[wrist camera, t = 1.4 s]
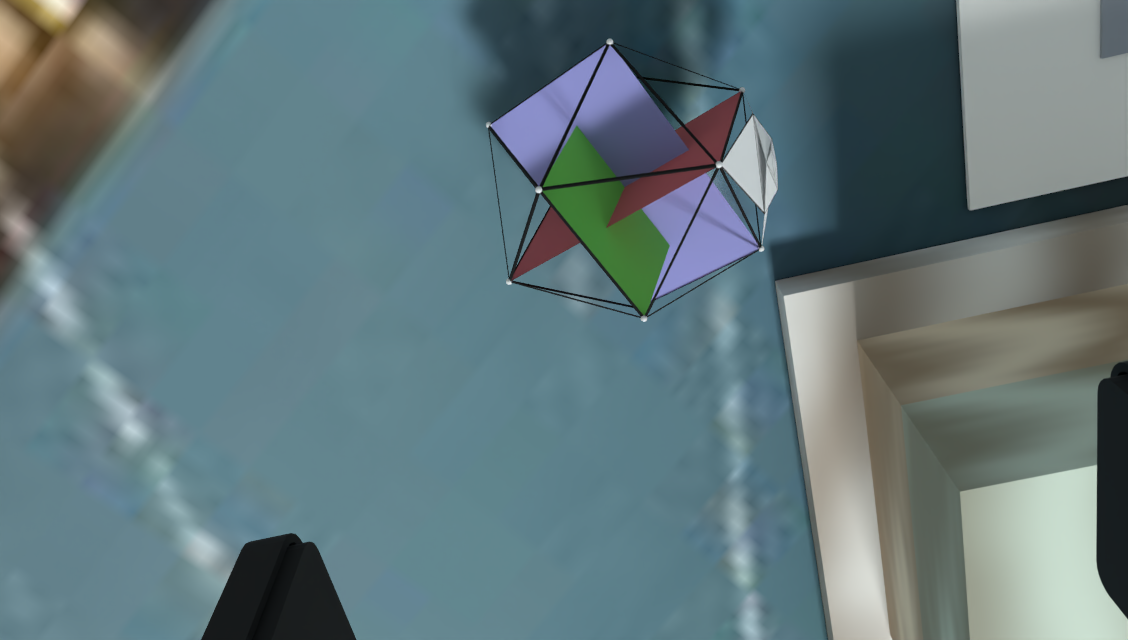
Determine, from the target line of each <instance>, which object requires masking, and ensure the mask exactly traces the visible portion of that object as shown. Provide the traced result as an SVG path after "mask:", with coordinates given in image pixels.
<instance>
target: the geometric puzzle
mask: <svg viewBox="0 0 1128 640" xmlns="http://www.w3.org/2000/svg"><path fill="white" fill-rule="evenodd" d="M614 44H616V43H614ZM617 45H619V44H617ZM619 46H621V45H619ZM622 47H624V46H622ZM625 48H627V47H625ZM628 49H630V48H628ZM630 50H632V49H630ZM633 51H635V50H633ZM636 52H638V51H636ZM639 53H640V52H639ZM641 54H643V53H641ZM644 55H646V54H644ZM647 56H649V55H647ZM649 57H651V56H649ZM652 58H654V57H652ZM655 59H657V58H655ZM658 60H660V59H658ZM624 61H625V62H624ZM660 61H662V60H660ZM663 62H665V61H663ZM666 63H668V62H666ZM626 64H627V65H628V66H629V67H630V68H631V69H632V70H633V72H634V73H635V74H636V75H637V76H635V75H634V74H633V73H632V71H631V70H630V69H629V67H628V66H627V65H626ZM669 64H670V63H669ZM671 65H673V64H671ZM674 66H676V65H674ZM677 67H679V66H677ZM679 68H681V67H679ZM682 69H684V68H682ZM685 70H687V69H685ZM688 71H690V70H688ZM690 72H692V71H690ZM693 73H695V72H693ZM696 74H698V73H696ZM699 75H700V74H699ZM701 76H703V75H701ZM704 77H706V76H704ZM637 78H638V79H641V81H642V82H643V83H644V84H645V85H646V86H647V87H648V88H649V90H650V91H651V92H652V93H653V94H654V95H655V96H656V97H657V99H658V100H659V101H660V102H661V103H662V104H663V105H664V106H665V108H666V109H667V110H668V111H669V112H670V113H671V114H672V115H673V117H674V118H675V119H676V120H677V121H678V122H679V123H680V124H681V126H682V127H680V128H678V129H677V130H674V129H673V127H672V126H671V125H670V123H669V122H668V120H667V119H666V118H665V116H664V115H663V114H662V112H661V111H660V110H659V108H658V107H657V105H656V104H655V103H654V101H653V100H652V99H651V97H650V96H649V95H648V93H647V92H646V90H645V89H644V88H643V86H642V85H641V84H640V82H639V81H638V80H637ZM707 78H709V77H707ZM644 79H646V80H654V81H662V82H670V83H678V84H686V85H694V86H702V87H710V88H718V89H726V90H734V91H739V93H737V94H735V95H734V96H732V97H730V98H729V99H727V100H725V101H724V102H722V103H720V104H719V105H717V106H715V107H714V108H712V109H710V110H709V111H707V112H705V113H703V114H702V115H700V116H698V117H697V118H695V119H693V120H692V121H690V122H688V123H687V124H685V125H684V123H683V122H682V121H681V120H680V119H679V118H678V117H677V116H676V114H675V113H674V112H673V111H672V110H671V109H670V108H669V107H668V105H667V104H666V103H665V102H664V101H663V100H662V99H661V98H660V96H659V95H658V94H657V93H656V92H655V91H654V90H653V89H652V87H651V86H650V85H649V84H648V83H647V82H646V81H645V80H644ZM710 79H711V78H710ZM712 80H714V79H712ZM715 81H717V80H715ZM718 82H720V81H718ZM720 83H722V82H720ZM723 84H725V83H723ZM726 85H728V84H726ZM729 86H730V85H729ZM731 87H733V86H731ZM734 88H736V87H734ZM734 88H726V87H718V86H710V85H702V84H694V83H686V82H678V81H670V80H662V79H654V78H646V77H642V76H641V75H640V74H639V73H638V72H637V71H636V70H635V68H634V67H633V66H632V65H631V64H630V63H629V62H628V61H627V59H626V58H625V57H624V56H623V55H622V54H621V53H620V52H619V50H618V49H617V48H616V47H615V46H614V45H613V40H612V39H608V40H607V43H606V44H604V45H603V46H602V47H600V48H599V49H597V50H596V51H594V52H593V53H591V54H590V55H589V56H587V57H586V58H584V59H583V60H581V61H580V62H579V63H577V64H576V65H574V66H573V67H571V68H570V69H568V70H567V71H566V72H564V73H563V74H561V75H560V76H558V77H557V78H555V79H554V80H553V81H551V82H550V83H548V84H547V85H545V86H544V87H543V88H541V89H540V90H538V91H537V92H535V93H534V94H532V95H531V96H530V97H528V98H527V99H525V100H524V101H522V102H521V103H519V104H518V105H517V106H515V107H514V108H512V109H511V110H509V111H508V112H507V113H505V114H504V115H502V116H501V117H499V118H498V119H496V120H495V121H494V122H492V123H491V122H487V123H486V126H487V127H488V130H490V131H491V132H492V134H493V135H494V136H495V137H496V139H497V140H498V141H499V143H500V144H501V145H502V146H503V148H504V149H505V150H506V151H507V153H508V154H509V155H510V156H511V158H512V159H513V160H514V162H515V163H516V164H517V165H518V167H519V168H520V169H521V170H522V172H523V173H524V174H525V176H526V177H527V178H528V179H529V181H530V182H531V183H532V184H533V186H534V187H535V188H536V189H535V191H536V196H535V199H534V202H533V205H532V208H531V211H530V214H529V217H528V221H527V224H526V227H525V230H524V233H523V236H522V239H521V243H520V246H519V249H518V252H517V255H516V258H515V261H514V264H513V268H512V271H511V274H510V277H509V272H508V277H509V279H507V280H506V283H507V284H511V283H515V284H519V285H522V286H526V287H530V286H531V287H530V288H533V289H537V290H540V291H544V292H548V291H545V290H550V291H555V292H560V293H564V294H569V295H574V296H579V297H584V298H589V299H593V300H598V301H603V302H608V303H613V304H617V305H622V306H627V307H632V308H634V309H635V310H636V311H637V312H638V314H639V315H640V316H641V317H640V316H636V315H633V314H629V313H625V312H622V311H618V310H614V309H611V308H607V307H603V306H600V305H596V304H592V303H589V302H585V301H581V300H578V299H574V298H570V297H567V296H563V295H559V294H556V293H552V292H548V293H551V294H555V295H559V296H562V297H566V298H570V299H573V300H577V301H581V302H584V303H588V304H591V305H595V306H599V307H602V308H606V309H610V310H613V311H617V312H621V313H624V314H628V315H632V316H635V317H639V318H641V320H642V321H643V322H645V321H647V317H649V316H650V315H652V314H654V313H655V312H657V311H659V310H660V309H662V308H664V307H665V306H667V305H669V304H670V303H672V302H674V301H675V300H677V299H679V298H680V297H682V296H684V295H685V294H687V293H689V292H690V291H692V290H694V289H695V288H697V287H699V286H700V285H702V284H704V283H705V282H707V281H709V280H710V279H712V278H714V277H715V276H717V275H719V274H720V273H722V272H724V271H725V270H727V269H729V268H730V267H732V266H734V265H735V264H737V263H739V262H740V261H742V260H744V259H745V258H747V257H748V256H750V255H752V254H753V253H755V252H757V251H758V250H759V251H763V250H764V246H762V245H761V241H760V243H759V241H758V239H757V237H756V235H755V233H754V231H753V229H752V227H751V225H750V223H749V221H748V219H747V217H746V215H745V213H744V211H743V209H742V207H741V205H740V203H739V201H738V199H737V197H736V195H735V192H734V190H733V188H732V186H731V184H730V182H729V180H728V178H727V176H726V174H725V172H724V170H725V171H726V173H727V174H728V175H729V176H730V177H731V178H732V179H733V180H734V181H735V182H736V184H737V185H738V186H739V187H740V188H741V189H742V190H743V191H744V192H745V193H746V195H747V196H748V197H749V198H750V199H751V200H752V201H753V202H754V203H755V206H757V207H758V208H759V209H760V210H761V211H762V212H763V213H764V214H765V215H764V226H763V236H764V230H765V224H766V218H767V211H768V207H769V205H770V203H771V201H772V200H773V198H774V196H775V194H776V192H777V190H778V184H777V162H776V157H775V152H774V147H773V142H772V138H771V137H770V136H769V134H768V133H767V132H766V130H765V129H764V128H763V126H762V125H761V124H760V122H759V121H758V120H757V118H756V117H755V115H754V114H753V113H752V115H751V117H750V118H749V120H748V121H747V122H746V125H745V126H744V128H743V129H742V131H741V132H740V134H739V136H738V137H737V139H736V140H735V142H734V143H733V145H732V147H731V148H730V150H729V151H728V153H727V155H726V156H725V158H724V159H723V157H724V154H725V151H726V147H727V144H728V141H729V137H730V134H731V131H732V128H733V124H734V121H735V118H736V114H737V111H738V108H739V105H740V101H741V98H742V96H743V93H744V92H745V88H744V87H741V88H740V89H739V88H737V89H734ZM745 97H746V96H745ZM743 104H744V96H743ZM748 104H749V103H748ZM750 109H751V108H750ZM751 111H752V110H751ZM744 113H745V104H744ZM745 121H746V113H745ZM489 138H490V132H489ZM490 145H491V140H490ZM491 152H492V147H491ZM492 160H493V154H492ZM722 160H723V161H722ZM493 167H494V162H493ZM716 167H717V168H716ZM714 168H716V170H715V172H714V174H713V176H712V178H711V179H710V178H709V176H708V175H707V174H706V173H707V172H708V171H710V170H712V169H714ZM719 169H720V171H721V173H722V175H723V177H724V179H725V181H726V182H727V184H728V186H729V188H730V190H731V192H732V194H733V196H734V198H735V200H736V202H737V204H738V206H739V208H740V210H741V212H742V214H743V216H744V218H745V220H746V222H747V224H748V226H749V228H750V230H751V232H752V234H753V236H754V238H755V239H754V238H753V236H752V235H751V234H750V232H749V231H748V230H747V228H746V227H745V226H744V224H743V223H742V221H741V220H740V219H739V217H738V216H737V215H736V213H735V212H734V211H733V209H732V208H731V206H730V205H729V204H728V202H727V201H726V200H725V198H724V197H723V196H722V194H721V193H720V191H719V190H718V189H717V187H716V186H715V185H714V183H713V180H714V178H715V176H716V174H717V172H718V170H719ZM723 169H724V170H723ZM494 174H495V169H494ZM495 182H496V176H495ZM496 189H497V184H496ZM539 194H541V195H542V196H543V197H544V199H545V200H546V201H547V202H548V204H549V205H550V207H549V209H548V211H547V212H546V214H545V216H544V218H543V220H542V221H541V223H540V225H539V227H538V229H537V230H536V232H535V234H534V236H533V238H532V239H531V241H530V243H529V245H528V247H527V248H526V250H525V252H524V254H523V256H522V257H521V259H520V261H519V263H518V265H517V262H518V259H519V256H520V253H521V250H522V246H523V243H524V240H525V237H526V234H527V231H528V228H529V225H530V222H531V219H532V216H533V213H534V210H535V206H536V203H537V200H538V197H539ZM497 196H498V191H497ZM498 204H499V198H498ZM757 207H756V215H757ZM499 211H500V206H499ZM500 218H501V213H500ZM757 223H758V215H757ZM501 226H502V220H501ZM758 232H759V224H758ZM502 233H503V228H502ZM503 240H504V235H503ZM755 240H756V241H755ZM759 240H760V232H759ZM762 242H763V237H762ZM578 243H581V244H582V245H583V246H584V248H585V249H586V250H587V251H588V252H589V254H590V255H591V256H592V257H593V259H594V260H595V261H596V262H597V263H598V265H599V266H600V267H601V268H602V270H603V271H604V272H605V273H606V274H607V276H608V277H609V278H610V279H611V281H612V282H613V283H614V284H615V285H616V287H617V288H618V289H619V290H620V292H621V293H622V294H623V295H624V296H625V298H626V299H627V300H628V301H629V303H630V304H631V305H632V306H631V305H626V304H621V303H616V302H611V301H607V300H602V299H597V298H592V297H587V296H583V295H578V294H573V293H568V292H564V291H559V290H554V289H549V288H544V287H540V286H535V285H530V284H525V283H520V282H516V281H513V280H514V279H515V278H517V277H519V276H521V275H523V274H524V273H526V272H528V271H530V270H532V269H533V268H535V267H537V266H539V265H541V264H542V263H544V262H546V261H548V260H550V259H551V258H553V257H555V256H557V255H559V254H560V253H562V252H564V251H566V250H568V249H569V248H571V247H573V246H575V245H577V244H578ZM504 248H505V242H504ZM505 255H506V250H505ZM746 256H747V257H746ZM743 257H745V258H743ZM741 258H743V259H742V260H740V261H738V262H737V263H735V264H733V265H732V266H730V267H728V268H727V269H725V270H723V271H722V272H720V273H718V274H717V275H715V276H713V277H712V278H710V279H708V280H707V281H705V282H703V283H702V284H700V285H698V286H697V287H695V288H693V289H692V290H690V291H688V292H687V293H685V294H683V295H682V296H680V297H678V298H677V299H675V300H673V301H672V302H670V303H668V304H667V305H665V306H663V307H662V308H660V309H658V310H657V311H655V312H653V313H652V314H650V315H648V313H649V311H650V309H651V307H652V305H653V303H654V301H655V300H656V299H658V298H660V297H663V296H665V295H667V294H669V293H671V292H673V291H675V290H677V289H679V288H681V287H683V286H685V285H687V284H690V283H692V282H694V281H696V280H698V279H700V278H702V277H704V276H706V275H708V274H710V273H712V272H714V271H716V270H719V269H721V268H723V267H725V266H727V265H729V264H731V263H733V262H735V261H737V260H739V259H741ZM506 262H507V257H506ZM516 265H517V266H516ZM507 270H508V264H507ZM534 287H535V288H534ZM538 288H540V289H538ZM541 289H545V290H541ZM650 302H651V303H650ZM647 315H648V316H647Z"/></svg>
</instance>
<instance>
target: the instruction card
mask: <svg viewBox="0 0 1128 640" xmlns="http://www.w3.org/2000/svg"><path fill="white" fill-rule="evenodd" d="M956 7H957V26H958V44H959V62H960V80H961V98H962V116H963V134H964V152H965V170H966V188H967V206H968V209H969V210H975V209H980V208H984V207H989V206H993V205H998V204H1003V203H1007V202H1012V201H1016V200H1021V199H1025V198H1030V197H1035V196H1039V195H1044V194H1048V193H1053V192H1058V191H1062V190H1067V189H1071V188H1076V187H1080V186H1085V185H1090V184H1094V183H1099V182H1103V181H1108V180H1113V179H1117V178H1122V177H1126V176H1128V0H956Z"/></svg>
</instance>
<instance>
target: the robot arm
mask: <svg viewBox="0 0 1128 640" xmlns="http://www.w3.org/2000/svg"><path fill="white" fill-rule="evenodd" d="M1096 563H1097V570H1098V574H1099V577H1100V580H1101V582H1102V584H1103V586H1104V588H1105V590H1106V592H1107V593H1108V595H1109V596H1110V598H1111V599H1112V600H1113V601H1114V603H1115V604H1116V605H1117V606H1118V608H1119V609H1120V610H1121V612H1122V613H1123V614H1124V615H1125V617H1126V618H1127V619H1128V361H1124V362H1119V363H1117V364H1116V365H1115V366H1114V367H1113V369H1112V371H1111V376H1110V377H1109V378H1105V379H1103V380H1101V381H1100V383H1099V385H1098V392H1097V530H1096ZM201 640H356V638H355V635H354V633H353V631H352V628H351V626H350V624H349V621H348V619H347V617H346V614H345V612H344V609H343V607H342V605H341V602H340V600H339V598H338V595H337V593H336V591H335V588H334V586H333V583H332V581H331V579H330V576H329V574H328V572H327V569H326V567H325V564H324V562H323V560H322V557H321V555H320V553H319V550H318V549H317V547H316V545H315V544H314V543H313V542H305V543H302V541H301V539H300V538H299V537H298V536H297V535H296V534H293V533H290V534H285V535H280V536H275V537H270V538H266V539H261V540H256V541H251V542H248V543H246V544H245V545H244V547H243V548H242V550H241V552H240V554H239V557H238V559H237V561H236V563H235V566H234V568H233V570H232V572H231V574H230V577H229V579H228V581H227V583H226V586H225V588H224V590H223V592H222V595H221V597H220V599H219V601H218V603H217V606H216V608H215V610H214V612H213V615H212V617H211V619H210V621H209V624H208V626H207V628H206V630H205V632H204V635H203V637H202V639H201Z"/></svg>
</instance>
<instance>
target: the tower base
mask: <svg viewBox="0 0 1128 640" xmlns="http://www.w3.org/2000/svg"><path fill="white" fill-rule="evenodd" d="M775 285H776V292H777V299H778V305H779V312H780V319H781V325H782V332H783V339H784V346H785V352H786V359H787V366H788V373H789V379H790V386H791V393H792V399H793V406H794V413H795V420H796V426H797V433H798V440H799V447H800V453H801V460H802V467H803V473H804V480H805V487H806V494H807V500H808V507H809V514H810V520H811V527H812V534H813V541H814V547H815V554H816V561H817V568H818V574H819V581H820V588H821V594H822V601H823V608H824V615H825V621H826V628H827V635H828V640H1128V619H1127V618H1126V617H1125V615H1124V614H1123V613H1122V612H1121V610H1120V609H1119V608H1118V606H1117V605H1116V604H1115V603H1114V601H1113V600H1112V599H1111V598H1110V596H1109V595H1108V593H1107V592H1106V590H1105V588H1104V586H1103V584H1102V582H1101V580H1100V577H1099V574H1098V570H1097V563H1096V530H1097V392H1098V385H1099V383H1100V381H1101V380H1103V379H1105V378H1109V377H1110V376H1111V371H1112V369H1113V367H1114V366H1115V365H1116V364H1117V363H1119V362H1124V361H1128V205H1124V206H1120V207H1115V208H1110V209H1106V210H1101V211H1097V212H1092V213H1087V214H1083V215H1078V216H1073V217H1069V218H1064V219H1059V220H1055V221H1050V222H1046V223H1041V224H1036V225H1032V226H1027V227H1022V228H1018V229H1013V230H1008V231H1004V232H999V233H995V234H990V235H985V236H981V237H976V238H971V239H967V240H962V241H958V242H953V243H948V244H944V245H939V246H934V247H930V248H925V249H920V250H916V251H911V252H907V253H902V254H897V255H893V256H888V257H883V258H879V259H874V260H870V261H865V262H860V263H856V264H851V265H846V266H842V267H837V268H832V269H828V270H823V271H819V272H814V273H809V274H805V275H800V276H795V277H791V278H786V279H781V280H777V281H775Z"/></svg>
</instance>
